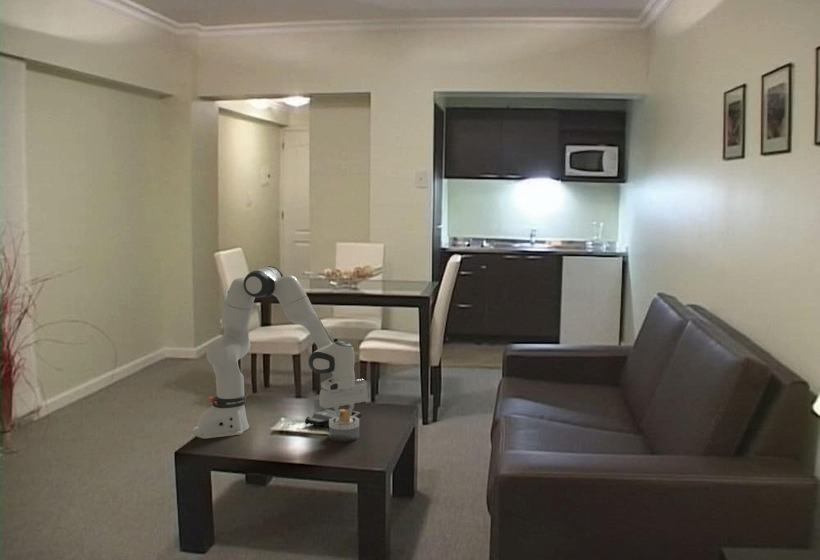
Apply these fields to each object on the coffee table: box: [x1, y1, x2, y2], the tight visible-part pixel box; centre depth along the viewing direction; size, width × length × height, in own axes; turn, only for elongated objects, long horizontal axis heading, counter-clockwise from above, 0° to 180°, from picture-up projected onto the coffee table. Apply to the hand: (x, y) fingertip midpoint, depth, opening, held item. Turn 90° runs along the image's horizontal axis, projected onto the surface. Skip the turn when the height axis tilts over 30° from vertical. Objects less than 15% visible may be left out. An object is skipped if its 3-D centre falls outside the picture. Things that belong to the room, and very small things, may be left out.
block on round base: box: [335, 408, 353, 424], centre depth 301 cm, size 7×7×6 cm
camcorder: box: [304, 409, 363, 427], centre depth 319 cm, size 16×20×5 cm
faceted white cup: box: [328, 416, 360, 443], centre depth 302 cm, size 12×12×7 cm
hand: (344, 415), depth 301 cm, fingers open, 3 cm apart
